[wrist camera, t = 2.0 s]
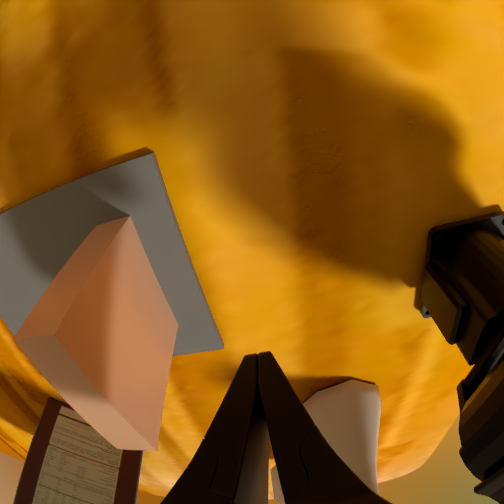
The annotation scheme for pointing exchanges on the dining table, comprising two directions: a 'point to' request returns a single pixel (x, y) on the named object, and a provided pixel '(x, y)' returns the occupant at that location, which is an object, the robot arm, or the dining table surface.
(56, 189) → the mat
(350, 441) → the flask
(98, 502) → the protein box
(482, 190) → the dining table surface
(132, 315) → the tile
